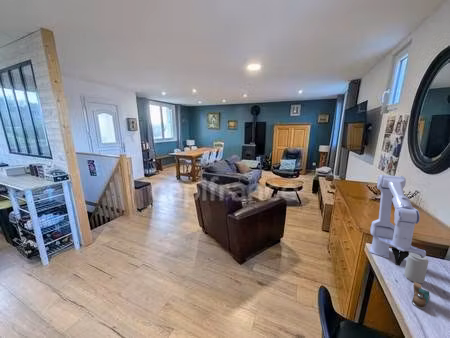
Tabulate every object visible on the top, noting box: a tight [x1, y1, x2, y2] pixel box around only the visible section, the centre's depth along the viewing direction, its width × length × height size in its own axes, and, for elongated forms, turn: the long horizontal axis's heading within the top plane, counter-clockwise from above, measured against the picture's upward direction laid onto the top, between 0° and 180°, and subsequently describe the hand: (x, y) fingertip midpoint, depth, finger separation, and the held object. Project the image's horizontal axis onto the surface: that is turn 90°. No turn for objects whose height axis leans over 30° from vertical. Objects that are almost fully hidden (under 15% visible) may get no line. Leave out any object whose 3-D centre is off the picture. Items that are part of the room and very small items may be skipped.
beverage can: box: [403, 252, 429, 284], centre depth 83 cm, size 6×6×12 cm
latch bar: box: [412, 282, 427, 308], centre depth 74 cm, size 12×3×3 cm, turn 138°
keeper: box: [419, 288, 430, 304], centre depth 72 cm, size 1×3×4 cm, turn 48°
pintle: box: [411, 294, 426, 310], centre depth 71 cm, size 4×4×4 cm
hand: (397, 264), depth 80 cm, fingers closed
